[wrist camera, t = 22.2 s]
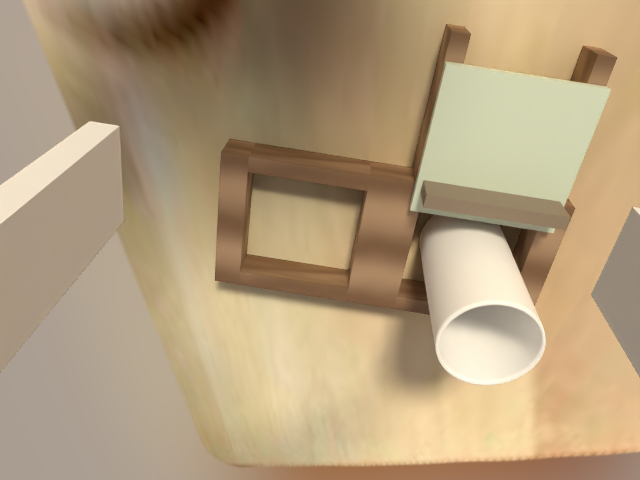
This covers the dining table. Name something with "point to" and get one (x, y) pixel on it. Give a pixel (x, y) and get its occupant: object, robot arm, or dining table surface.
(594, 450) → the dining table surface
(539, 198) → the lid
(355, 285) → the board
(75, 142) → the robot arm
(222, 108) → the dining table surface
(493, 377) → the cup
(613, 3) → the dining table surface
